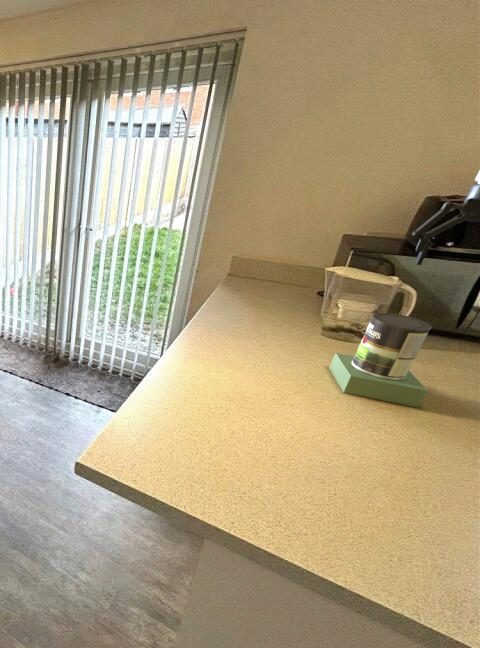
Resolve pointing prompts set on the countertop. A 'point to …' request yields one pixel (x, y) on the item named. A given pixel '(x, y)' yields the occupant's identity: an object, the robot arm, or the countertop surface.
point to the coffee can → (390, 345)
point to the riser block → (376, 383)
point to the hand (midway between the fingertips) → (454, 267)
